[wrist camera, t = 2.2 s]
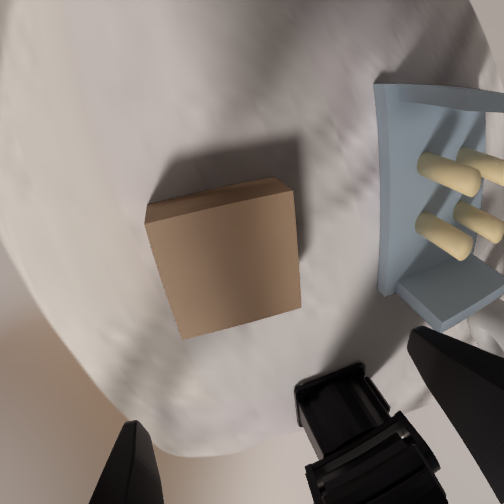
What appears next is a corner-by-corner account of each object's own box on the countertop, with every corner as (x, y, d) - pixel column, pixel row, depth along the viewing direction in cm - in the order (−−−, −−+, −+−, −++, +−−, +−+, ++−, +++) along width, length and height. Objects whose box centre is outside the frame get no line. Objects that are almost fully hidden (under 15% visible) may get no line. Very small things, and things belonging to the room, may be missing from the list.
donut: (455, 296, 26) (525, 358, 17) (477, 272, 25) (548, 328, 17) (464, 340, 30) (514, 393, 22) (482, 321, 30) (534, 370, 22)
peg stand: (377, 289, 22) (427, 340, 16) (373, 83, 15) (453, 88, 10) (464, 253, 23) (513, 286, 18) (474, 88, 16) (539, 100, 11)
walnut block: (177, 306, 18) (182, 339, 16) (147, 202, 15) (144, 224, 13) (282, 279, 19) (301, 307, 17) (271, 175, 16) (293, 190, 14)
